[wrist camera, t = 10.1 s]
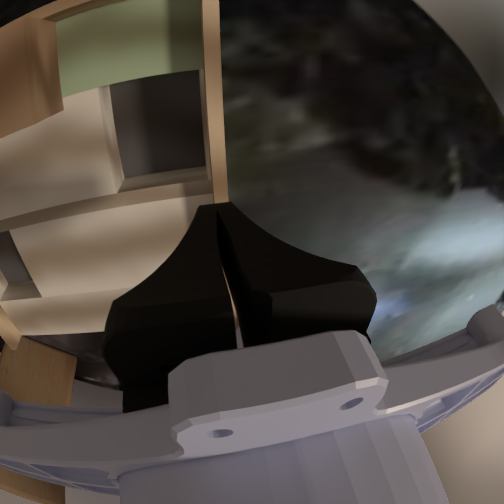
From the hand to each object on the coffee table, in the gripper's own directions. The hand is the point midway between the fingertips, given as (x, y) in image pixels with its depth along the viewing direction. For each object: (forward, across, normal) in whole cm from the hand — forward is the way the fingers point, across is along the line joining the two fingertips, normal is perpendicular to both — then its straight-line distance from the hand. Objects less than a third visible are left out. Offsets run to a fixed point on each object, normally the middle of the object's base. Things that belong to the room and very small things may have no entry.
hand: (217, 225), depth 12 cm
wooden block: (+11, +26, +23) cm, 36 cm away
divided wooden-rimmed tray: (+10, +11, +1) cm, 15 cm away
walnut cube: (+7, +11, -8) cm, 16 cm away
